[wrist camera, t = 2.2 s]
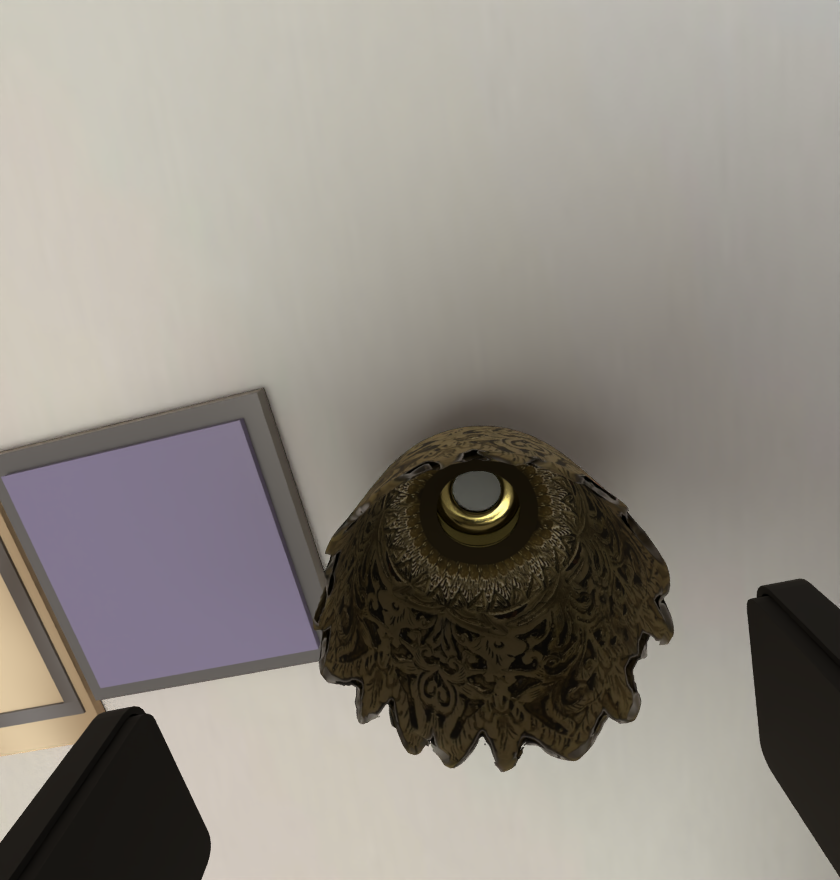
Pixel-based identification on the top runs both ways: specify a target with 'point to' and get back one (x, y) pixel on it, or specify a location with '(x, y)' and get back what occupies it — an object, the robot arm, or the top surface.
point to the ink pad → (170, 545)
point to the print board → (35, 662)
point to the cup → (491, 601)
